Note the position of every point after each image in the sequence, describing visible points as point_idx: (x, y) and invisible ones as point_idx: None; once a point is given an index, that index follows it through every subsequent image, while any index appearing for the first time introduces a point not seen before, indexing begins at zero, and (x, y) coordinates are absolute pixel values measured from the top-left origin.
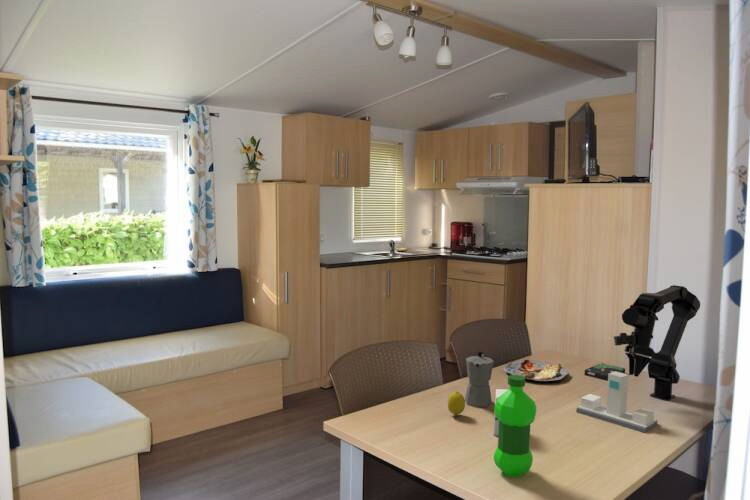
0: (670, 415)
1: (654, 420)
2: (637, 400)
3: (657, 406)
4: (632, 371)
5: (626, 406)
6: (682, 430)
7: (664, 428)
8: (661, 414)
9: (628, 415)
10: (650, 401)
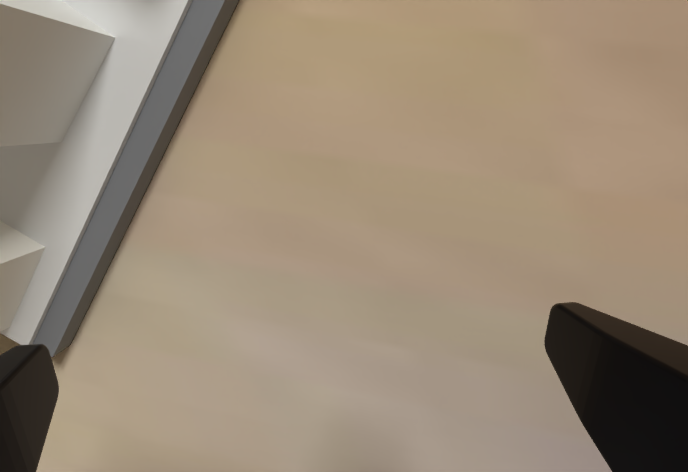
0: (288, 466)
1: (18, 335)
2: None
3: (462, 425)
4: (583, 376)
5: (10, 144)
6: None
7: None
8: (286, 414)
9: (36, 157)
10: None
